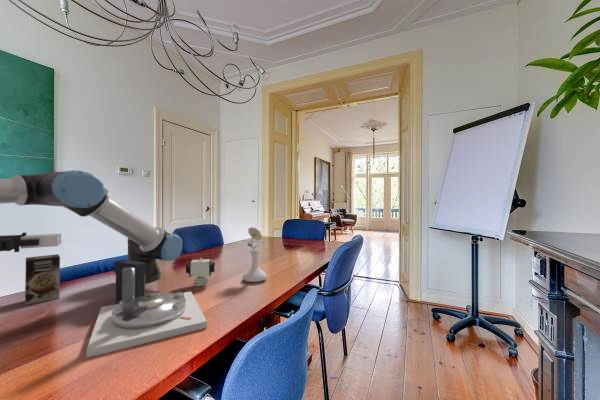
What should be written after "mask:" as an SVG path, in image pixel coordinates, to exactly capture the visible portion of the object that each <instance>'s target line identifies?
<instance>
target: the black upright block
mask: <svg viewBox="0 0 600 400" xmlns="http://www.w3.org/2000/svg"><path fill="white" fill-rule="evenodd" d="M113 265H114V267H113V268H114V269H113V271H114V274H115V302H117V303H119V301H121V300H122V269H124V268H128V267H135V298H137V297H141V296H145V295H146V283H145V263H144V262H138V261H129V260H128V259H121V260H118V261H114V264H113Z"/></svg>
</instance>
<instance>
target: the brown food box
mask: <svg viewBox="0 0 600 400" xmlns="http://www.w3.org/2000/svg"><path fill="white" fill-rule="evenodd" d="M60 275H61V256H60V254H59V253H58V254H49V255H40V256H39V255H38V256H30V257H29V256H28V257H26V258H25V279H24V280H25V281H24V282H25V283H24V284H25V285H24V305H26V306H27V305H32V304H38V303H43V302H47V301H53V300H57V299H60V284H61V283H60V282H61V281H60V280H61V276H60Z"/></svg>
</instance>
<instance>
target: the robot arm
mask: <svg viewBox="0 0 600 400" xmlns="http://www.w3.org/2000/svg"><path fill="white" fill-rule="evenodd" d="M13 203H14V204H15V205H17V206H29V205H30V206H33V205H34V206H51V207H63V208H65V209H67V210H69V211H71V212H72V213H74V214H77V215H78V216H79V217H81V218H83V217H89V216H90V217H91V218H93V219H94V220H96V221H98V222H100V223H101V224H104V225H105V226H107V227H108V228H110V229H112V230H114V231H115V232H116V233H119V235H122V236H124V237H126V238H127V240H126V242H127V260H129V261H138V262H144V263H145V284H147V283H151V282H154V281H157V280H159V279H161V272H162V271H161V269H160V266H159V265H158V264H159V263H158V261H157V260H160V261H164V262H170V261H174V260H176V259H177V258H178V257H179V255H180V254H181V252H182V250H183V239H182V237H180V236H179V234H175V233H172V234H171V233H170V232H168V231H166V230H165V229H164V228H162V227H158V226H156V227H154V226H152V225H151V224H149V223H148V222H147V221H145V220H144V219H142V218H141V217H139V216H138V215H136V214H135V213H134V212H132V211H130V210H129V209H128V208H126V207H125V206H123V205H122V204H120V203H119V202H118V201H116V200H115V199H113V197H112V198H111V197H110V192H109V190H108V189H107V188H105V187H104V183H103V181H102V180H101V179H100V178H99V177H98V176H97V175H95V174H93V173H91V172H88V171H84V170H83V171H82V170H77V169H76V170H66V171H65V170H64V171H51V172H50V171H49V172H43V173H37V174H36V173H35V174H23V175H22V174H21V175H20V174H16V175H13V176H12V177H9V178H0V204H13ZM60 245H62V233H49V234H48V233H47V234H44V233H43V234H29V235H28V234H27V232H22V233H21V234H14V235H13V234H10V235H7V234H5V235H0V252H11V251H13V250H14V251H13V252H14V253H19V252H20V249H22V250H23V249H34V248H37V249H38V248H50V247H51V248H52V247H60Z"/></svg>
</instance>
